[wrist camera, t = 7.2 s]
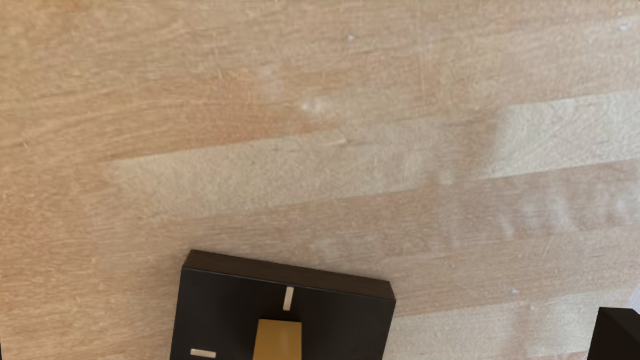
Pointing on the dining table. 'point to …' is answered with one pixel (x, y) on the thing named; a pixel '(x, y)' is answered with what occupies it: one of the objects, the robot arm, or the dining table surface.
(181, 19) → the dining table surface
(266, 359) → the lock turn
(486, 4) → the dining table surface
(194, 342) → the plate
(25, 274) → the dining table surface
